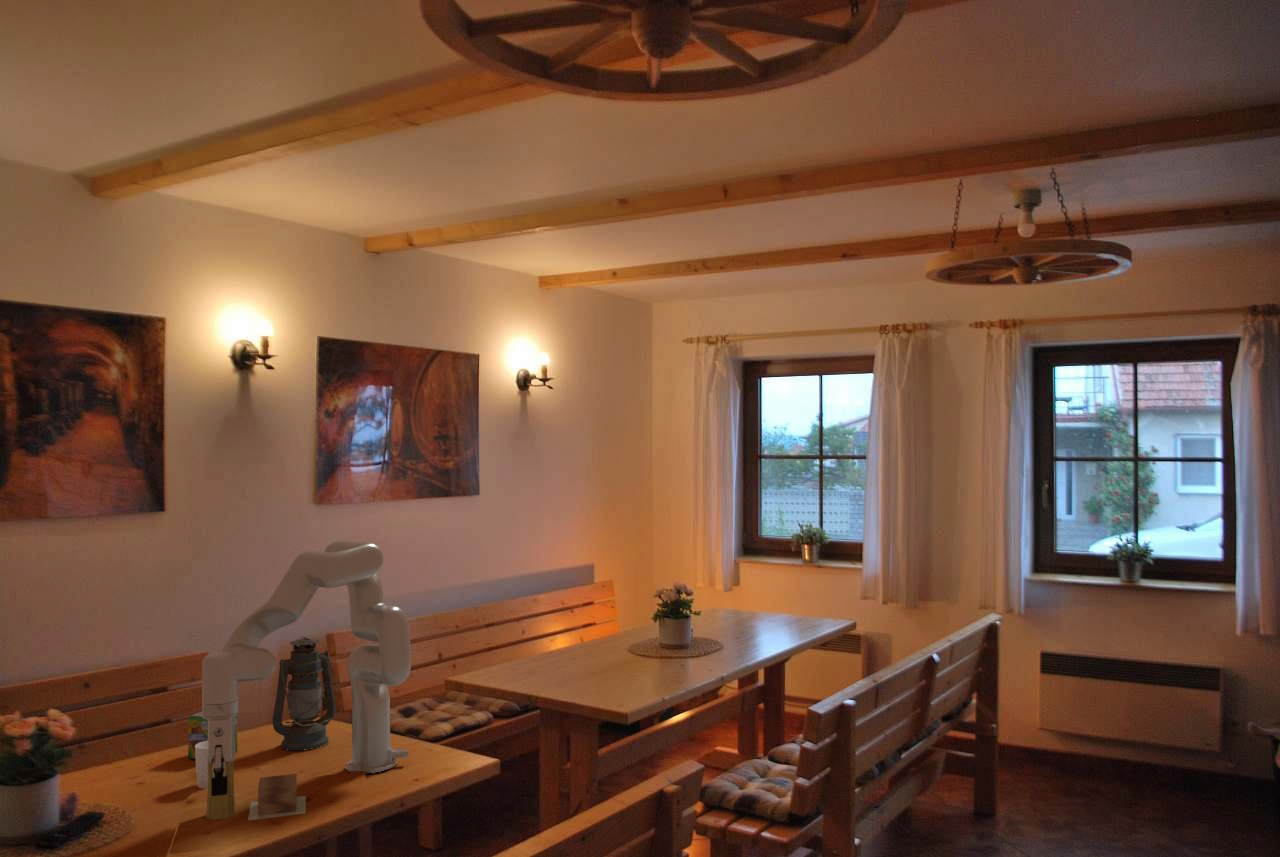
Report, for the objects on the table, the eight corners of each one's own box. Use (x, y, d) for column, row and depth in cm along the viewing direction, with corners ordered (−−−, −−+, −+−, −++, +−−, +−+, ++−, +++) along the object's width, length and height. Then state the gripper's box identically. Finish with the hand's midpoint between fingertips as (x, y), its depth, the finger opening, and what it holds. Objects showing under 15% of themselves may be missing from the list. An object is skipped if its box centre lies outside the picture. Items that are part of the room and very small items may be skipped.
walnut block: (296, 799, 229) (296, 773, 229) (296, 811, 221) (296, 784, 221) (259, 803, 226) (259, 777, 226) (258, 815, 219) (258, 788, 219)
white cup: (216, 790, 239) (216, 749, 239) (187, 789, 240) (187, 747, 240) (236, 780, 246) (236, 740, 247) (208, 778, 248) (208, 738, 248)
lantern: (323, 732, 288) (322, 629, 289) (351, 741, 279) (350, 635, 280) (260, 748, 273) (260, 640, 274) (288, 758, 264) (288, 646, 265)
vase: (211, 814, 223) (211, 751, 223) (239, 813, 223) (239, 750, 224) (201, 824, 217) (201, 759, 217) (230, 823, 217) (230, 758, 217)
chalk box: (187, 759, 264) (187, 704, 264) (209, 749, 273) (209, 695, 273) (217, 761, 262) (217, 705, 262) (238, 751, 271) (238, 697, 271)
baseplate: (305, 800, 231) (305, 795, 231) (305, 817, 220) (305, 813, 220) (251, 806, 228) (251, 802, 228) (247, 824, 216) (247, 820, 216)
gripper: (235, 716, 214) (236, 801, 213) (241, 698, 230) (241, 776, 229) (198, 720, 211) (198, 805, 211) (206, 701, 227) (206, 780, 227)
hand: (220, 789), depth 220 cm, fingers closed on vase, 5 cm apart
